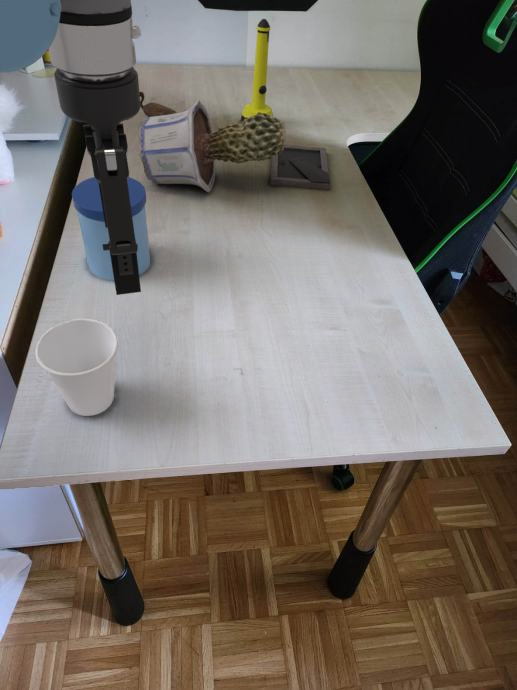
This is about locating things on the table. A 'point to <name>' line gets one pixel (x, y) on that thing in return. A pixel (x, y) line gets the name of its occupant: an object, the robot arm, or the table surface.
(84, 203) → the blue lidded canister
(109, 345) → the cup
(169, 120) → the potted plant
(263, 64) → the flashlight
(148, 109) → the figurine
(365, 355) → the table surface
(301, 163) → the picture frame
